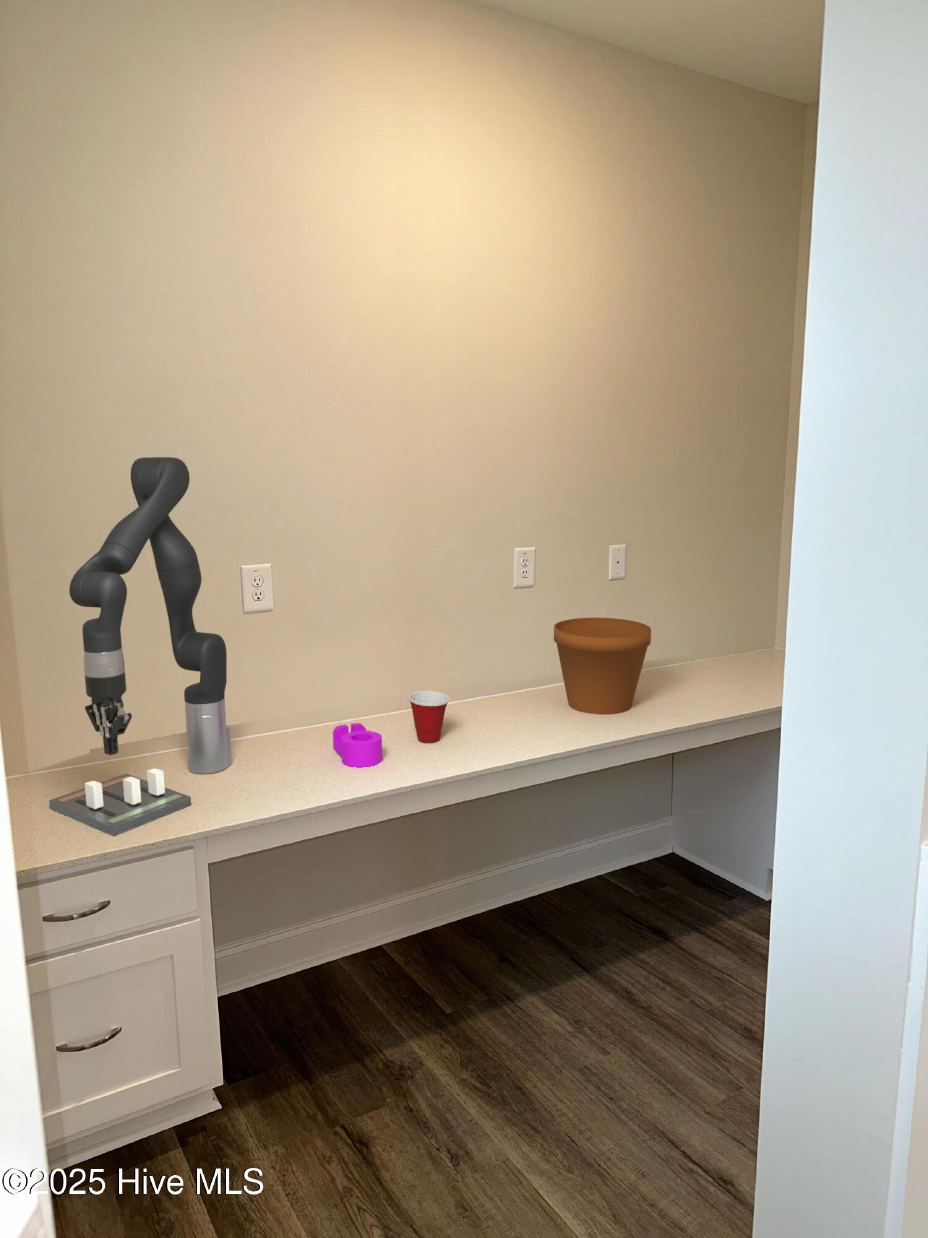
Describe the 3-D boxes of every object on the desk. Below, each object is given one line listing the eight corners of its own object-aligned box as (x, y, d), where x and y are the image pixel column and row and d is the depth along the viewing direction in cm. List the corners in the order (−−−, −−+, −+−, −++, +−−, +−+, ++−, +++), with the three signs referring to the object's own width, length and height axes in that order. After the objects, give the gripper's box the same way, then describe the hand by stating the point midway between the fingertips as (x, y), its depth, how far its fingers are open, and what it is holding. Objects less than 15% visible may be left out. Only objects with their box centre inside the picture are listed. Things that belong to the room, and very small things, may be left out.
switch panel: (127, 781, 213) (126, 773, 212) (191, 805, 199) (190, 796, 199) (50, 809, 197) (49, 799, 197) (113, 836, 184) (113, 826, 184)
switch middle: (132, 798, 197) (130, 776, 196) (141, 801, 195) (139, 779, 194) (124, 801, 195) (122, 779, 194) (133, 804, 194) (131, 782, 193)
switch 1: (95, 802, 195) (93, 780, 194) (103, 806, 193) (101, 783, 192) (86, 805, 193) (84, 783, 192) (94, 809, 192) (93, 786, 190)
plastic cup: (432, 750, 234) (432, 704, 231) (400, 741, 240) (399, 697, 238) (458, 738, 242) (458, 695, 240) (426, 730, 249) (426, 687, 246)
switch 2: (156, 789, 202) (154, 768, 201) (164, 792, 200) (163, 771, 199) (148, 792, 200) (147, 771, 199) (157, 795, 198) (155, 774, 197)
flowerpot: (589, 725, 253) (592, 642, 248) (534, 699, 277) (535, 623, 272) (667, 710, 266) (671, 631, 262) (608, 687, 290) (610, 614, 286)
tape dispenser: (387, 765, 224) (387, 740, 223) (348, 771, 220) (348, 746, 219) (367, 744, 238) (366, 721, 237) (330, 750, 234) (329, 726, 233)
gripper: (141, 672, 182) (147, 755, 185) (102, 662, 189) (108, 742, 193) (107, 680, 176) (114, 766, 179) (68, 669, 183) (75, 752, 187)
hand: (111, 753), depth 186 cm, fingers closed
